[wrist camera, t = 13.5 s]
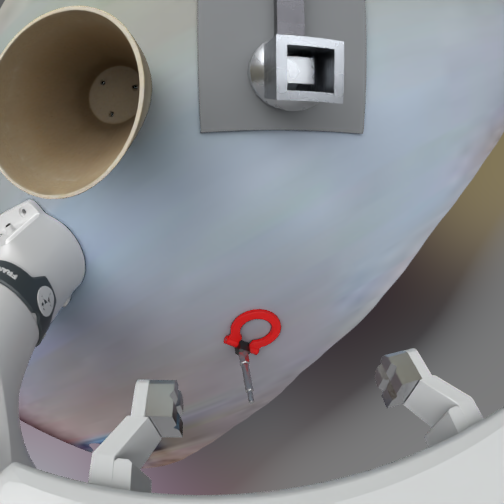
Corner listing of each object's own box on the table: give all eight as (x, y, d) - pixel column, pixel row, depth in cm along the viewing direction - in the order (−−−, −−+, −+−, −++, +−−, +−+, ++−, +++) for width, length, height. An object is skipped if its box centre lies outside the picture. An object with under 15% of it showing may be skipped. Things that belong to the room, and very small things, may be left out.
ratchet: (323, 111, 32) (342, 115, 27) (248, 109, 31) (254, 112, 26) (321, -41, 21) (337, -58, 16) (246, -49, 20) (251, -69, 15)
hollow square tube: (264, 98, 28) (276, 100, 22) (263, 45, 25) (276, 34, 19) (318, 100, 29) (343, 103, 23) (318, 49, 26) (344, 41, 20)
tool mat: (201, 131, 33) (200, 132, 32) (199, -57, 19) (199, -58, 19) (361, 132, 34) (363, 133, 34) (358, -42, 21) (360, -43, 20)
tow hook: (248, 300, 47) (218, 337, 50) (262, 362, 35) (223, 398, 38) (289, 318, 50) (257, 352, 53) (310, 377, 39) (270, 409, 42)
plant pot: (142, 14, 24) (92, -31, 10) (199, 111, 31) (184, 127, 18) (46, 85, 26) (-37, 99, 12) (99, 174, 33) (37, 232, 20)
